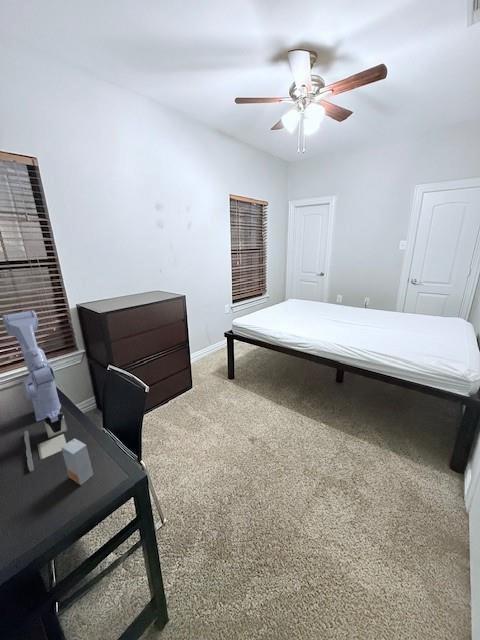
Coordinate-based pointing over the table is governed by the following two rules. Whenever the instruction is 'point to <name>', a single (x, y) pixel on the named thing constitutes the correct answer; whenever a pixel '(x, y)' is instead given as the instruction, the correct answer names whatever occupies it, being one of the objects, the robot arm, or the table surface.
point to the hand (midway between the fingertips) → (56, 427)
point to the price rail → (28, 451)
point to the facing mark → (51, 446)
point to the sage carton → (63, 429)
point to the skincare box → (77, 461)
